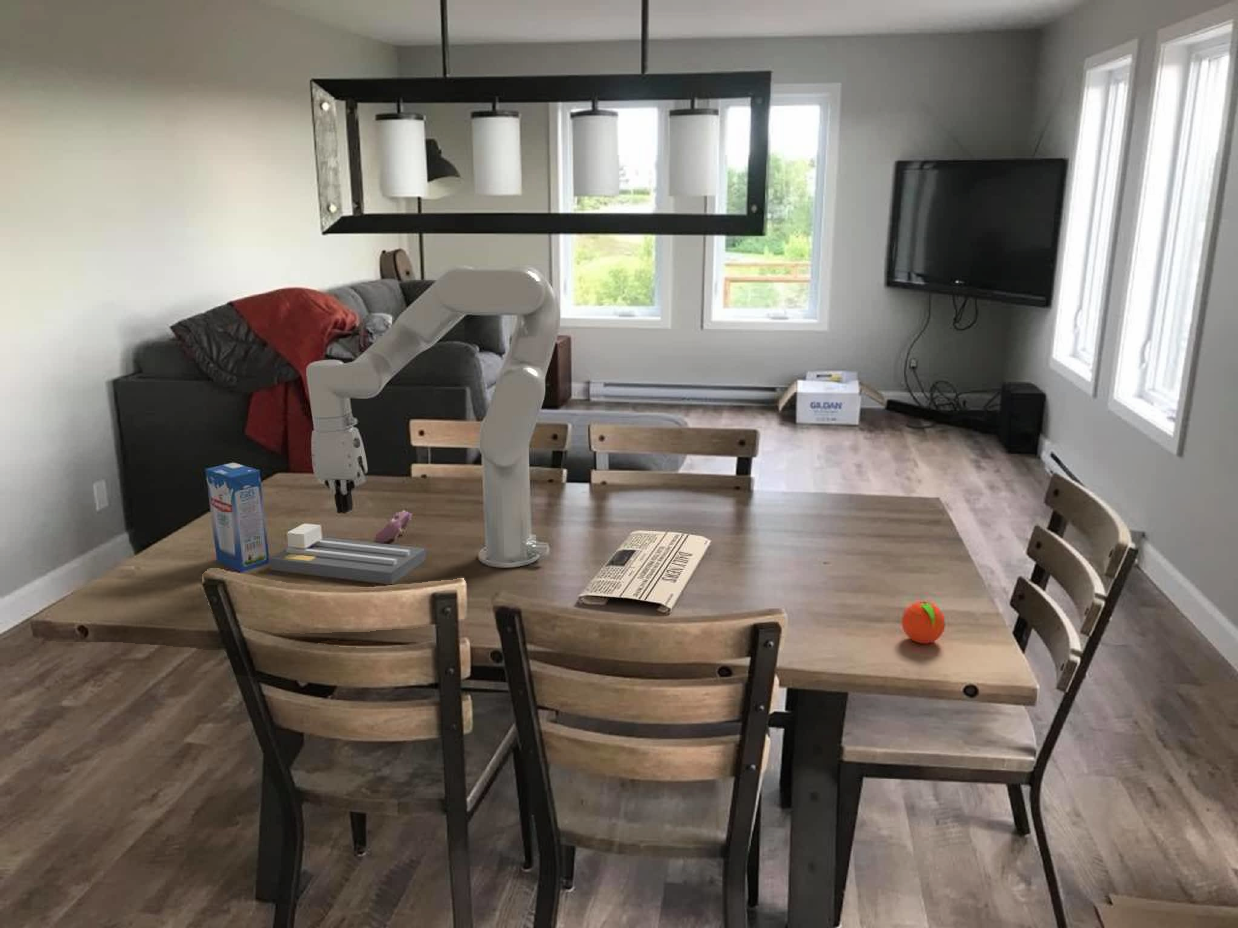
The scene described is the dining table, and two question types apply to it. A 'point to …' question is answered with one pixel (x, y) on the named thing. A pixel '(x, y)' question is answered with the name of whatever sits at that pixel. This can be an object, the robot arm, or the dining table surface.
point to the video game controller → (394, 527)
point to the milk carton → (237, 516)
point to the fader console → (350, 560)
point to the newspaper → (648, 569)
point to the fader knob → (304, 535)
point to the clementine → (923, 622)
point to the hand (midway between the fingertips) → (345, 511)
